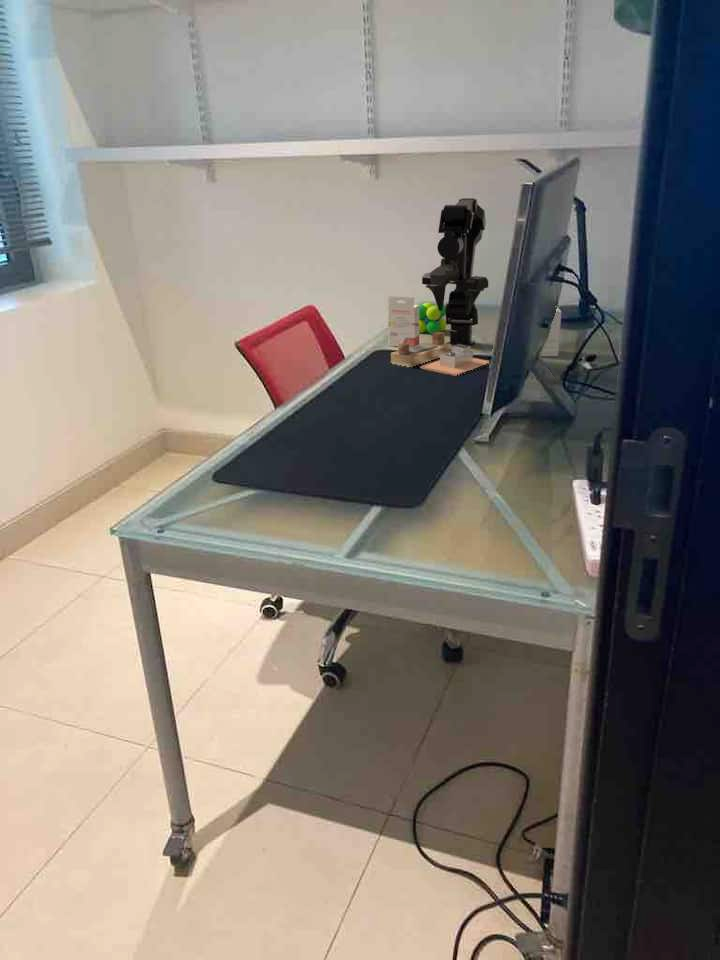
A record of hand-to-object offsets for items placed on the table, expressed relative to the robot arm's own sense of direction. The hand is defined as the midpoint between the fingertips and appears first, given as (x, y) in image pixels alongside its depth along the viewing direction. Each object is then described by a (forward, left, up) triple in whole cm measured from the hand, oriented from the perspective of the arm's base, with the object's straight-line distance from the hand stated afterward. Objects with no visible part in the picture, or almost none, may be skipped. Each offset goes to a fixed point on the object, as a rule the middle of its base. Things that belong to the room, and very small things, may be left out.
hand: (453, 312), depth 211 cm
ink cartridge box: (-1, -19, -12) cm, 23 cm away
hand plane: (+9, -4, -12) cm, 16 cm away
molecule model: (-20, -24, -12) cm, 34 cm away
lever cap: (+9, +8, -11) cm, 17 cm away
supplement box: (-17, +19, -12) cm, 28 cm away
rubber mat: (+9, +8, -12) cm, 17 cm away
